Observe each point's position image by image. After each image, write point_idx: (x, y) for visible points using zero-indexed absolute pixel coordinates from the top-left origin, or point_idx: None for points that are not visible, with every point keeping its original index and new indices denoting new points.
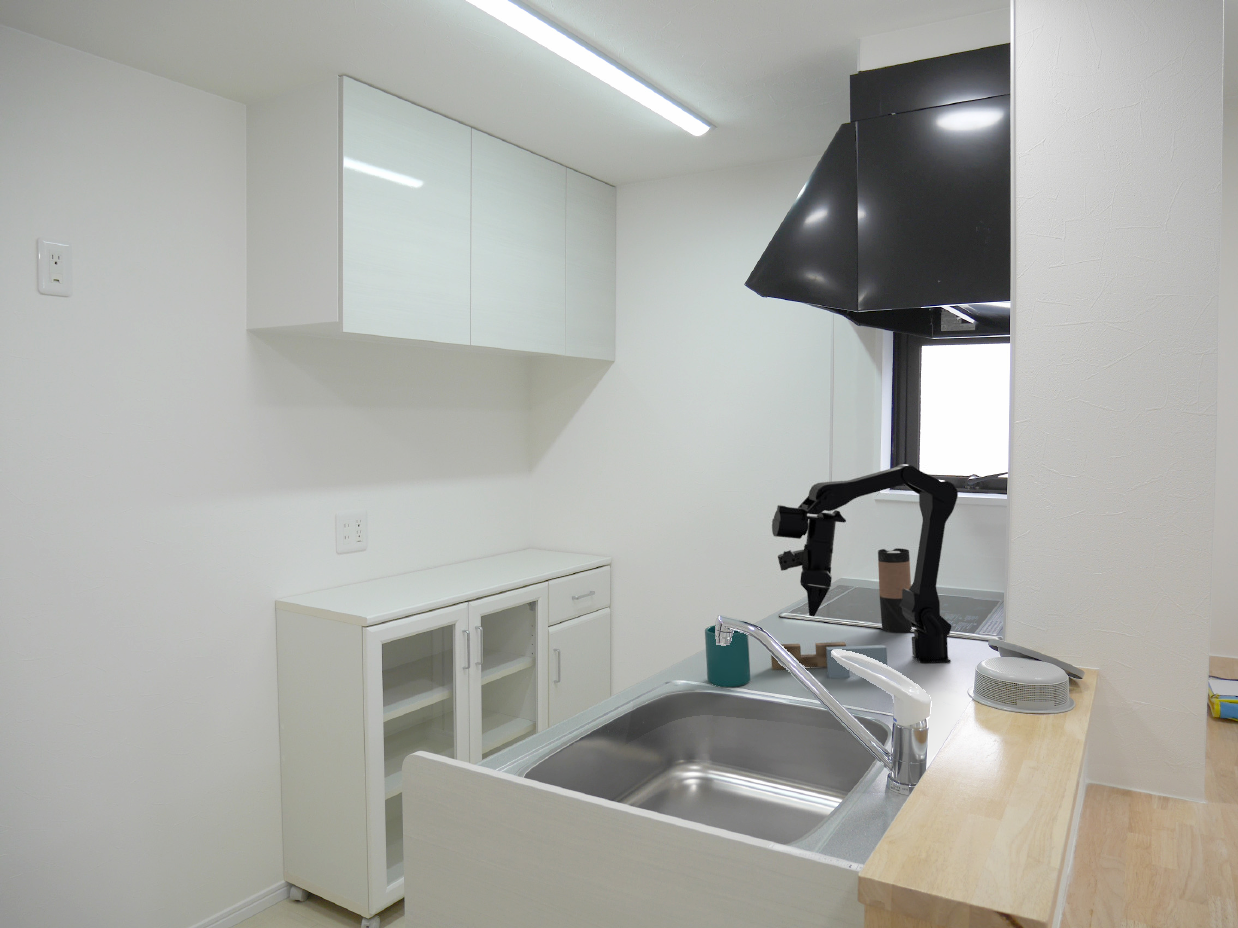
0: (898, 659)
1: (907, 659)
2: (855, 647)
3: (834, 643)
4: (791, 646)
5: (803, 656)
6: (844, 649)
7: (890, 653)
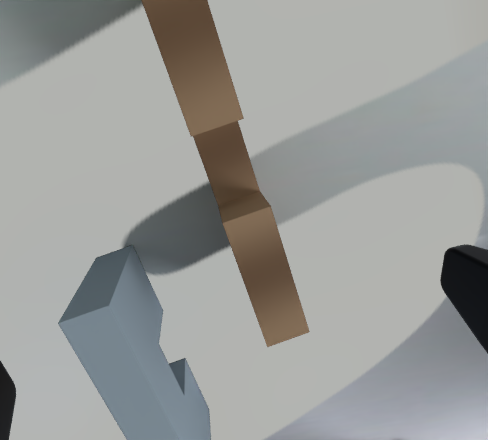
0: (363, 414)
1: (365, 434)
2: (142, 425)
3: (277, 296)
4: (171, 82)
5: (209, 139)
6: (97, 389)
7: (427, 384)
